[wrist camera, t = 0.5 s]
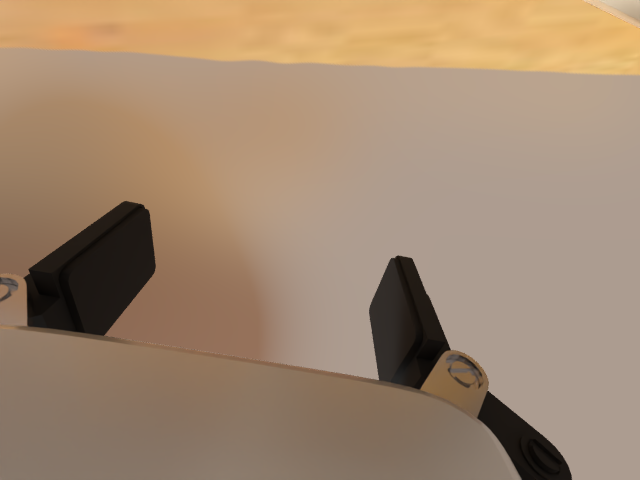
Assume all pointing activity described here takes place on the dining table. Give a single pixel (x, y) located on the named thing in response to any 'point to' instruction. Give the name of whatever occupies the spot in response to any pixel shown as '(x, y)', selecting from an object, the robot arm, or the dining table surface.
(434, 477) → the robot arm
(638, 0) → the board
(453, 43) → the dining table surface
